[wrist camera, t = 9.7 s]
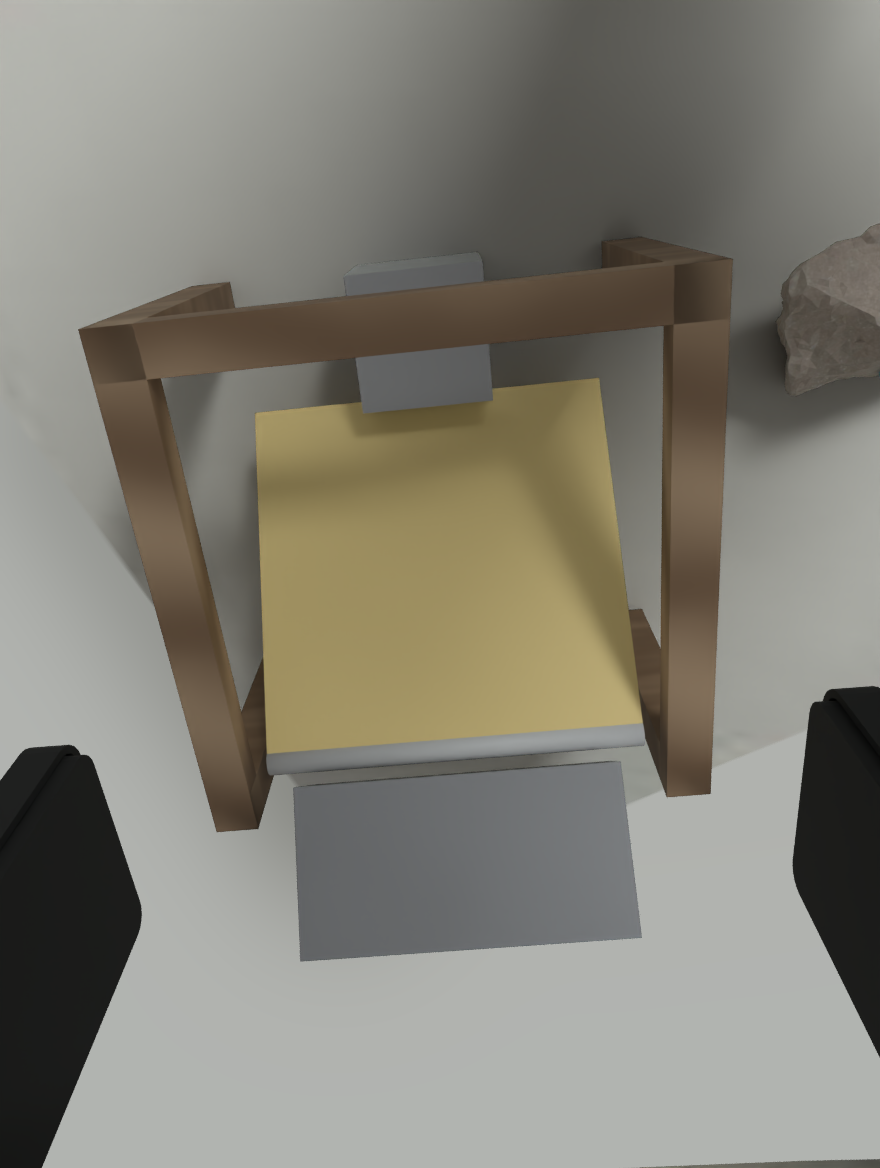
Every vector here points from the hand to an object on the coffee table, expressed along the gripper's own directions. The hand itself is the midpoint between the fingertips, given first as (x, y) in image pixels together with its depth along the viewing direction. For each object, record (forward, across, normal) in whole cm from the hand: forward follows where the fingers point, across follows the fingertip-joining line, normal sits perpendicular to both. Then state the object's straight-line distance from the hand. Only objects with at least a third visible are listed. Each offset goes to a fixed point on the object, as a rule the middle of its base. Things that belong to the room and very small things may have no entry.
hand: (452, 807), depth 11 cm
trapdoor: (+22, +1, +11) cm, 24 cm away
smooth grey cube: (+26, +1, 0) cm, 26 cm away
